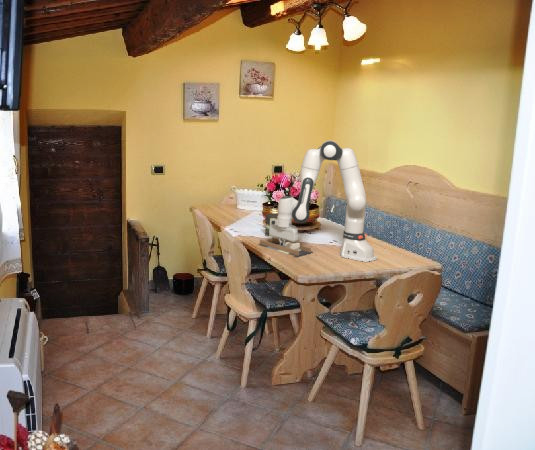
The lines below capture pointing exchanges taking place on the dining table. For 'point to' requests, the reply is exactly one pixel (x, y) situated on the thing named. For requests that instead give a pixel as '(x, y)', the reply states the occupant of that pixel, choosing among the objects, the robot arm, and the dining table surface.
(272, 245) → the runway
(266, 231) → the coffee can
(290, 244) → the block
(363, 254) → the robot arm
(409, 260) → the dining table surface
